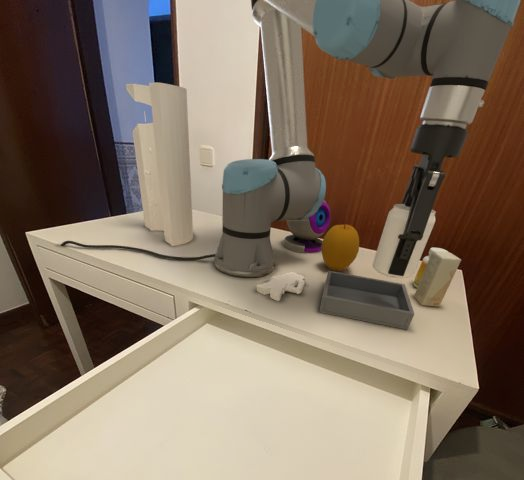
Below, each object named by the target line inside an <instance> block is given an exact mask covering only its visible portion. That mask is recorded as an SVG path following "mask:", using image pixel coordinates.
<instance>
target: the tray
mask: <svg viewBox="0 0 524 480" xmlns="http://www.w3.org/2000/svg"><path fill="white" fill-rule="evenodd" d="M318 313H323V314H327V315H333V316H337V317H342V318H348V319H352V320H357V321H363V322H367V323H373V324H377V325H383V326H388V327H392V328H397V329H401V330H409V328H410V325H411V323H412V321H413V318H414V317H415V311H414V308H413V305H412V302H411V300H410V296H409V293H408V290H407V287H406V285H405V283H400V282H396V281H395V282H394V281H388V280H383V279H378V278H372V277H366V276H361V275H356V274H350V273H344V272H340V271H333V270H332V271H331V270H327V273H326V278H325V281H324V287H323V291H322V296H321V301H320V305H319V311H318Z"/></svg>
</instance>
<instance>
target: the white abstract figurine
mask: <svg viewBox="0 0 524 480" xmlns="http://www.w3.org/2000/svg"><path fill="white" fill-rule="evenodd" d="M305 285H306V281H305V276H304V275H302V274H298V273H297V272H294V271H289V272H287V273H282V274H278V275H273V276H271V277H270V278H269V279H268V281H267V282H264V283H259V284H257V285H256V292H257V293H259V294H261V295H264V296H265V295H269V298H270V299H272V300H274V301H276V302H279V301H280V300H281V298H282V295H285V293H286V292H287V293H288V292H289V293H293V294H296V295H300V294H301V293H302V292H303V289H304V287H305Z"/></svg>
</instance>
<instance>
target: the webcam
mask: <svg viewBox="0 0 524 480" xmlns="http://www.w3.org/2000/svg"><path fill="white" fill-rule="evenodd" d="M330 210H331V209H330V207H329V205H328V203H327V201H326V200H325V199H324V200H323V203H322V205H321V206H320V207H319V209H318V211H317V212H316V213H315V214H314V215H312V216H310V217H308V218H303V219H301V220H286V224H287V228H288V230H289V232H290V233H291V234H290V235H287V236H285V237H284V239H283V246H284V247H285V248H287V249H289V250H290V251H294V252H298V253H303V254H304V253H316V252H320V251H322V250H321V248H322V241H323V239H320V238H321V236H323V235H324V234H325V232H326V231H327V230H328V228H329V226H330V223H331V211H330Z"/></svg>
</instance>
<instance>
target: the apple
mask: <svg viewBox="0 0 524 480" xmlns="http://www.w3.org/2000/svg"><path fill="white" fill-rule="evenodd" d="M320 251H321V256H322V259H323V261H324V264H325V266H326V267H327V268H329V270H332V271H334V272H342V271H344V270H345V269H346V268H348V267H349V266H350V265H351V264H352V263H353V262H354V261H355V260H356V258H357V256H358V254H359V251H360V236H359V233H358V231H357V229H356V228H355V227H353V226H352V225H350V224H346V223H344V224H336V225H333V226H332V227H331V228H330V229H329V230H328V231H327V232H326V234H325V235H324V236H323V239H322V248H321V250H320Z"/></svg>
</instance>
